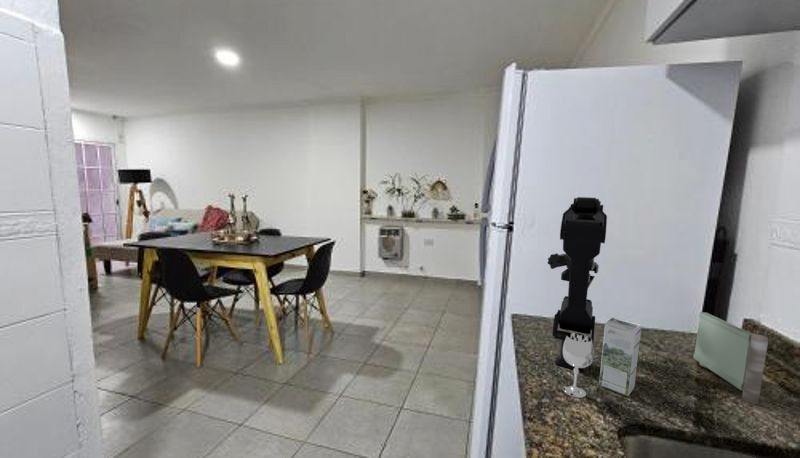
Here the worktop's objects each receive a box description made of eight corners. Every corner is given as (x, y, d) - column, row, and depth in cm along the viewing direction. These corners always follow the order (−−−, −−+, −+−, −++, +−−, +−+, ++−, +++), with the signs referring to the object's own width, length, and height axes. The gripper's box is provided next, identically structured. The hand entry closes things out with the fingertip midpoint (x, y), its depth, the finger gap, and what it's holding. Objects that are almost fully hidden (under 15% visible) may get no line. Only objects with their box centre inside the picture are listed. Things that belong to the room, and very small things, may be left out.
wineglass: (589, 402, 70) (595, 345, 69) (558, 393, 73) (563, 339, 72) (589, 388, 75) (595, 335, 74) (560, 381, 78) (565, 329, 77)
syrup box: (635, 387, 76) (642, 323, 75) (628, 398, 72) (635, 331, 71) (606, 376, 80) (612, 316, 79) (597, 386, 76) (604, 322, 75)
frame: (771, 405, 71) (782, 340, 70) (748, 403, 72) (758, 338, 70) (708, 364, 88) (715, 310, 86) (689, 362, 89) (696, 309, 87)
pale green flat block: (748, 390, 74) (757, 336, 72) (740, 389, 74) (748, 335, 73) (700, 358, 88) (706, 312, 86) (693, 358, 88) (699, 312, 86)
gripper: (559, 239, 108) (555, 288, 109) (543, 246, 93) (538, 303, 95) (601, 243, 101) (596, 295, 103) (590, 251, 86) (584, 312, 88)
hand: (578, 301), depth 97 cm, fingers closed
